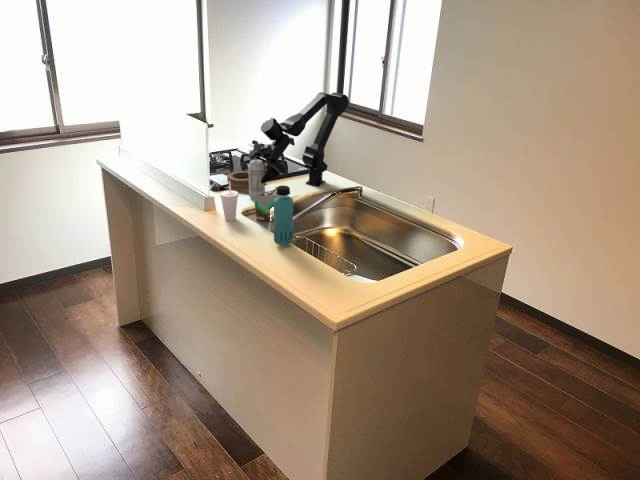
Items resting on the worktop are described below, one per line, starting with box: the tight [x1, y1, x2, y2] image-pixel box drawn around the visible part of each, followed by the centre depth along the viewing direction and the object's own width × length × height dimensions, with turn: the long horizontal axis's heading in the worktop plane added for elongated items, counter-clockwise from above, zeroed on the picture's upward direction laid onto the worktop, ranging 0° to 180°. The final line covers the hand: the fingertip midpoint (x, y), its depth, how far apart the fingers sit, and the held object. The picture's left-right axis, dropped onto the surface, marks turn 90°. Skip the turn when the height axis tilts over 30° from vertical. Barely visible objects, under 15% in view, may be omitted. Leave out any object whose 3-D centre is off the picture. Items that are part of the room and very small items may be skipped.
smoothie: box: [219, 181, 239, 222], centre depth 186 cm, size 6×6×14 cm
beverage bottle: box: [273, 185, 295, 246], centre depth 167 cm, size 6×7×20 cm
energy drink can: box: [247, 159, 266, 201], centre depth 205 cm, size 6×6×15 cm
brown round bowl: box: [224, 170, 267, 195], centre depth 219 cm, size 14×14×4 cm
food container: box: [252, 186, 280, 223], centre depth 188 cm, size 12×6×10 cm, turn 143°
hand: (254, 179), depth 204 cm, fingers open, 9 cm apart
